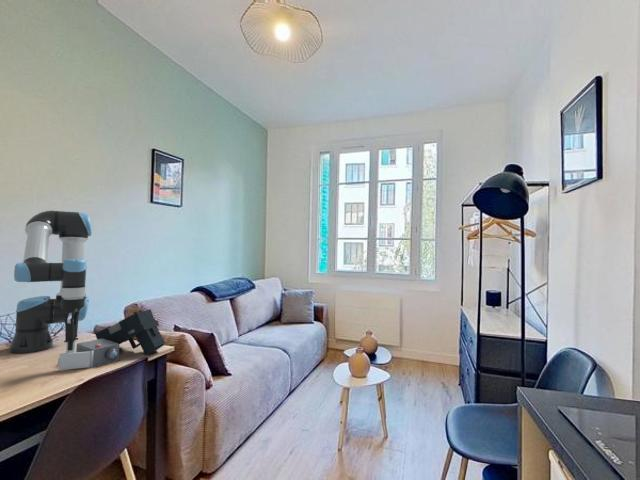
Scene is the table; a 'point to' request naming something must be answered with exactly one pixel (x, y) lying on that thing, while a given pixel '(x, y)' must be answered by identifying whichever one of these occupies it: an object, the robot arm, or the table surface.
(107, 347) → the camera body
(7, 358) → the table surface
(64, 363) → the door
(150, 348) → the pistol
